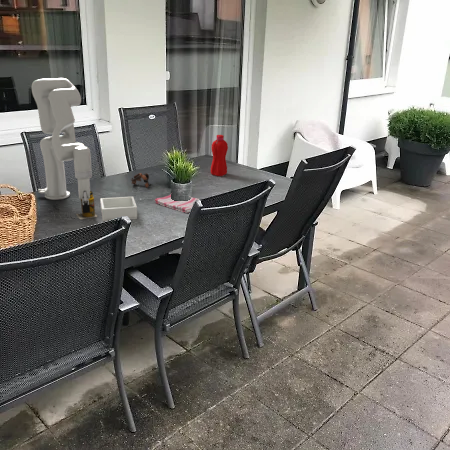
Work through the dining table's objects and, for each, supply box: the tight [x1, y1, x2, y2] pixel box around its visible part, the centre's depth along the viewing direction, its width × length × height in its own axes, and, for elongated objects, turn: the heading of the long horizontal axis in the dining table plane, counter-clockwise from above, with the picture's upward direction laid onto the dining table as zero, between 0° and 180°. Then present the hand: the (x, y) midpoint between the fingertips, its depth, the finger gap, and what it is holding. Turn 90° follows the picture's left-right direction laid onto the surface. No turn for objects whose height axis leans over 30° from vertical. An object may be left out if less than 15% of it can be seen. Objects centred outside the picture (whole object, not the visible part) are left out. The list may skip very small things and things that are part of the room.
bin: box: [99, 196, 138, 222], centre depth 228 cm, size 16×15×6 cm
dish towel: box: [154, 193, 200, 214], centre depth 245 cm, size 17×23×4 cm
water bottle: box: [210, 134, 229, 177], centre depth 291 cm, size 9×11×25 cm
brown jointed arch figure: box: [130, 172, 150, 188], centre depth 271 cm, size 12×10×8 cm
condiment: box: [75, 190, 98, 220], centre depth 224 cm, size 7×8×12 cm
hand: (86, 209), depth 225 cm, fingers closed on condiment, 6 cm apart
